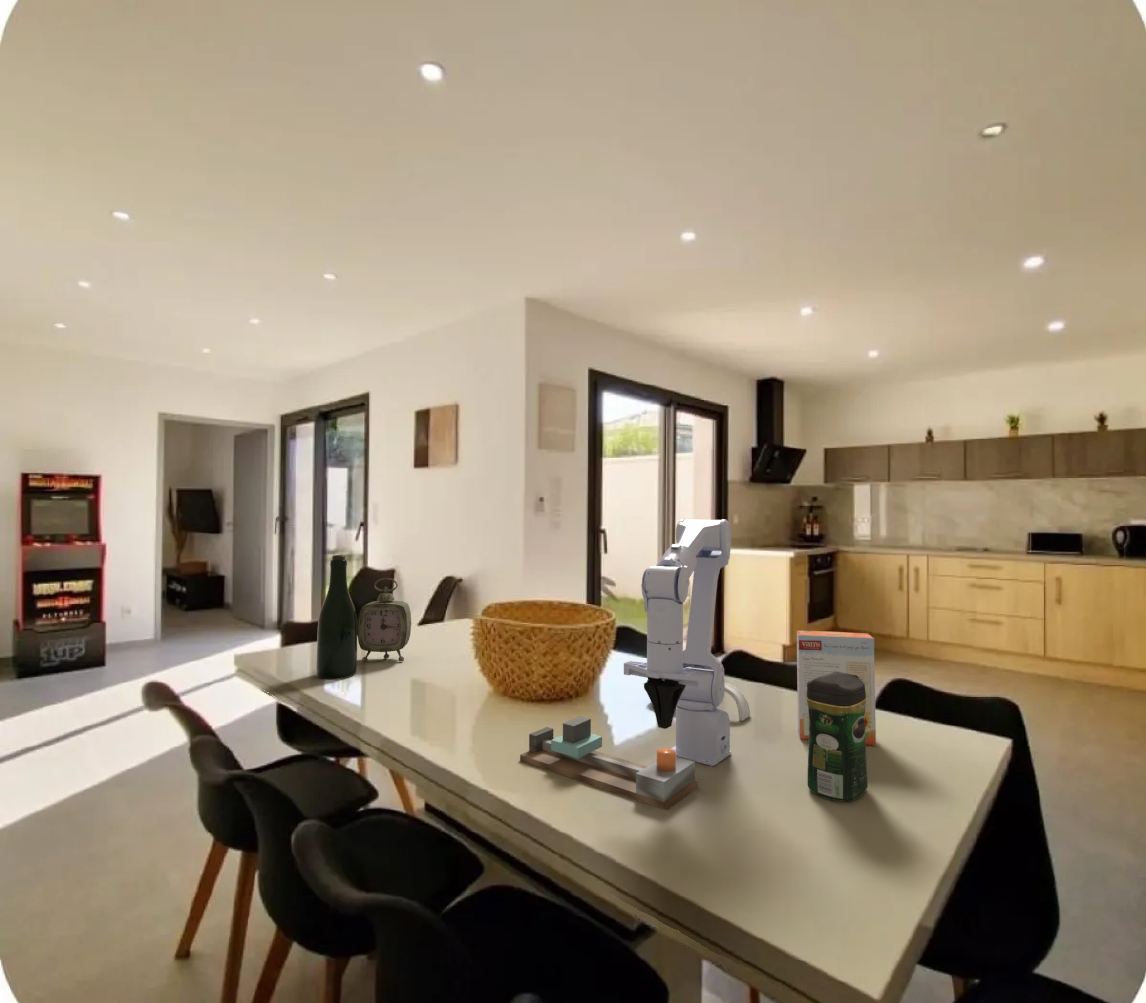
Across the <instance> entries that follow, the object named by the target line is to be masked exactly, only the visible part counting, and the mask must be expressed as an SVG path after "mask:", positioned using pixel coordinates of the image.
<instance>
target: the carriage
mask: <svg viewBox="0 0 1146 1003" xmlns="http://www.w3.org/2000/svg"><path fill="white" fill-rule="evenodd" d="M591 722H592V719H591V718H590V717H589V718H588V717H585V716H578V717H575V718H572V719H570V720H567V721H565V722H562V735H559V736H557V737H553V739H552V740H551V750H552V751H555V752H559V753H562V754H565V755H568V756H571V757H575V758H580V757H582V756H584V755H586V754H588V753H590V752H592V751H596V750H598V749H601V748H602V747H603V736H601V735H598V734H594V733H591V732H592V730H591V729H592V726H591V725H592V724H591Z"/></svg>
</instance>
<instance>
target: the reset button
mask: <svg viewBox="0 0 1146 1003" xmlns="http://www.w3.org/2000/svg"><path fill="white" fill-rule="evenodd" d="M676 757H677V756H676V752H675V750H673V749H671V748H668V747H662V748H661V747H660V748H658V749H657V750H656V761H657V768H658V769H659V770H662V771H673V770H675V769H676Z"/></svg>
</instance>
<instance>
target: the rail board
mask: <svg viewBox="0 0 1146 1003" xmlns="http://www.w3.org/2000/svg"><path fill="white" fill-rule="evenodd" d="M528 736H529V737H528V738H529V739H528V740H529V741H528V743H529V744H528V750H527V751H525V752H524V753H521V754H520V755H519V760H520V761H521V762H524V763H526V764H530V765H532V766H535V767H538V768H540V769H541V768H542V769H544V770H548V771H551V772H553V773H557V774H560V775H562V776H564V777H565V776H566V777H569V778H571V779H574V780H577V781H579V782H582V783H586V784H589V785H592V786H594V787H597V786H598V788H600V787H601V789H603V788H604V790H606V789H607V790H606V791H609V790H610V792H613V793H616V794H619V795H620V796H621V795H622V796H624V797H628V798H631V799H633V800H636V801H640V802H642V803H645V804H648V805H651V806H654V807H657V808H659V809H663V810H666V811H667V810H669V809H671V808H672V807H673V806H675V805H676V804H677V803H679V802H680V801H681V800H683V799H684V798H685V797H687V796H688V795H690V794H691V793H692V792H694V791H695V790H697V788H698V786H699V785H698V783H699V781H697V780H696V761H692V760H688V759H685V758H681V757H677V756H676V769H675V770H673V771H662V770H659V769H658V768H657V760H655V761H654V762H652V763H651V764H649V765H645V764H640V763H637V762H633V761H630V760H628V759H623V758H621V757H617V756H614V755H610V754H607V753H603V752H600V751H598V750H597V751H596V750H594V751H592V752H590V753H588V754H586V755H584V756H582V757H580V758H575V757H571V756H568V755H565V754H562V753H559V752H555V751H552V750H551V740H552V739H554V728H552V727H550V726H546V727H544V728H541V729H539V730H536V731H533V732H531V733H529V735H528Z"/></svg>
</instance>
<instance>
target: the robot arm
mask: <svg viewBox="0 0 1146 1003" xmlns="http://www.w3.org/2000/svg"><path fill="white" fill-rule="evenodd" d="M731 546H732V528H731V524H730V522H729V521H728V520H727V519H726V518H725V519H724V518H723V519H685V518H681V519H679V521H678V522H677V524H676V528H675V543H672V544H671V546H669V548H667V549H666V551H665V552H664V553H663V554H662V556H661V558H660V559H659V561H658V562H657V563H656V565H650V566H649V567H648V568H646V569H645V570H644V571H643V574H642V577H641V584H640V585H641V594H642V599H643V609H644V612H646V642H647V643H646V662H643V661H642V662H641V661H632V660H628V661H626V662H623V675H624V676H637V677H641V678H647V680H646V682H644V683H643V690H644V691H645V692H646V694H647V696H648V698H649V700H650V702H651V705H652V708H653V711H654V715H655V719H656V723H657V728H659V729H665V730H666V729H669V728H670V727H672V725H673V719H674V716H675V745H674V746H673V747H671V748H670V749H673V750H675V752H676V757H679V758H683V759H687V760H690V761H694V762H695V763H699V764H704V765H707V766H712V767H714V766H716V765H718V764H719V763H720V762H721V761H724V760H725V759H726V758H728V756H730V755H731V754H732V750H731V748H730V747H731V745H730V744H731V734H730V732H731V731H730V730H731V725H730V724H731V723H730V722H731V721H730V715H729V714H728V713H729V712H727V711H725V710H722V709H720V708H718V707H719V706H720V705H721V704H722V703H723V701H724V697H725V691H724V690H725V668H724V665H723V664H722V662H721V661H720V660H719V659H718V658H717V657H716V656H715V655H714V654H713V653H712V643H713V642H712V641H713V631H714V620H715V612H716V611H715V610H716V599H717V588H718V580H719V575H720V570H721V569H722V568H724V567H725V566H728V565H729V561H730V556H731ZM692 575H693V577H692V586H691V595H690V605H689V612H688V614H689V616H688V623H687V631H686V632H687V634H686V642H685V648H684V602H686V600H687V598H688V593H689V587H690V577H691V576H692ZM675 708H676V709H675Z"/></svg>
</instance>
